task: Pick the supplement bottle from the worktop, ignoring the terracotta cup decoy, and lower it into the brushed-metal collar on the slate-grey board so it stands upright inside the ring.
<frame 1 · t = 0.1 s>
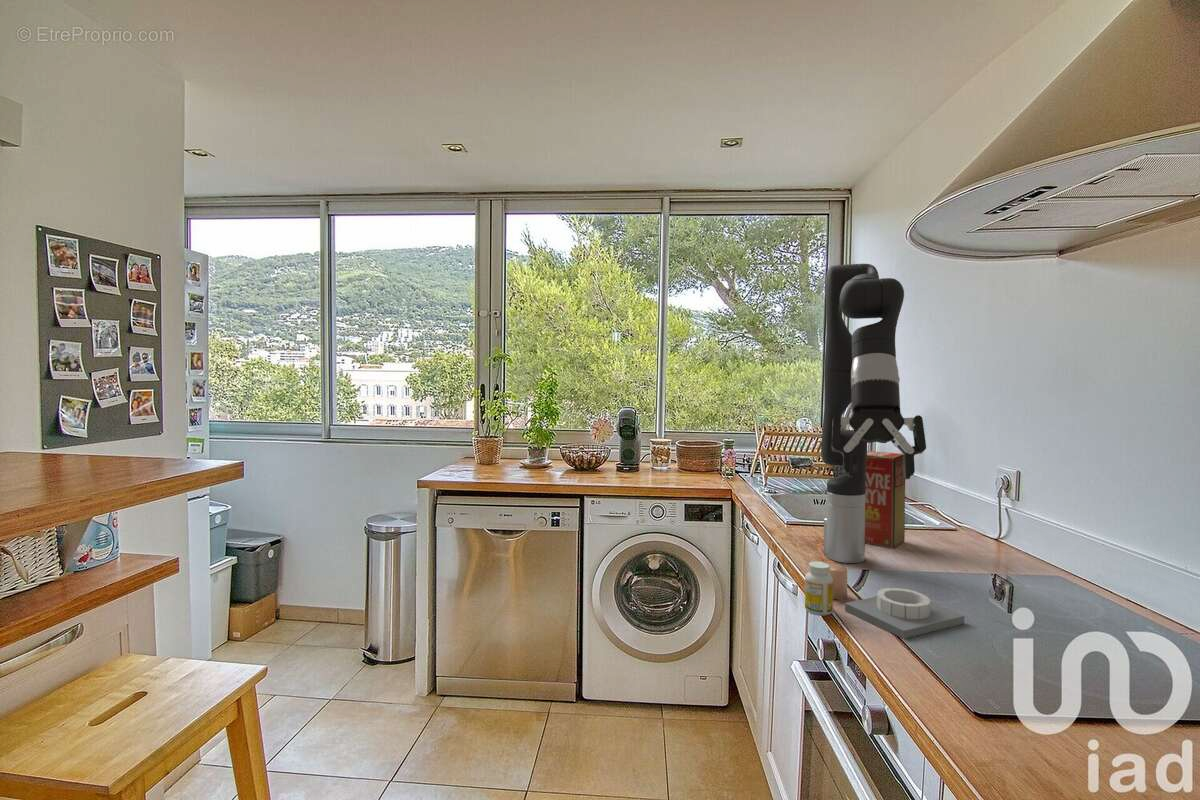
hand: (878, 477, 98), 31 cm above the worktop, tool tilted 20°, fingers open, 8 cm apart
food packaging: (875, 541, 168), on the worktop
supplement bottle: (818, 611, 121), on the worktop
collar board: (903, 616, 118), on the worktop
terracotta cup decoy: (834, 595, 129), on the worktop
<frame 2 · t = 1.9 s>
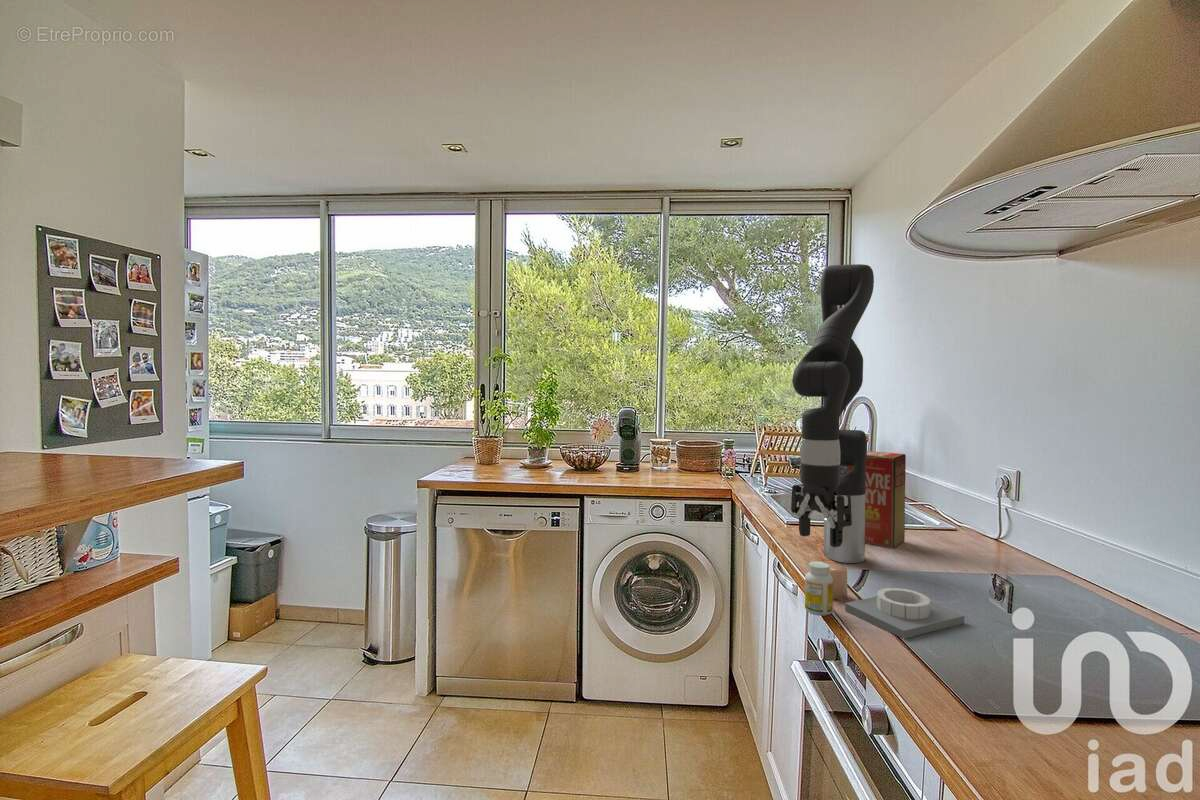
hand: (819, 540, 120), 14 cm above the worktop, tool pointing down, fingers open, 8 cm apart
nothing on the worktop moved.
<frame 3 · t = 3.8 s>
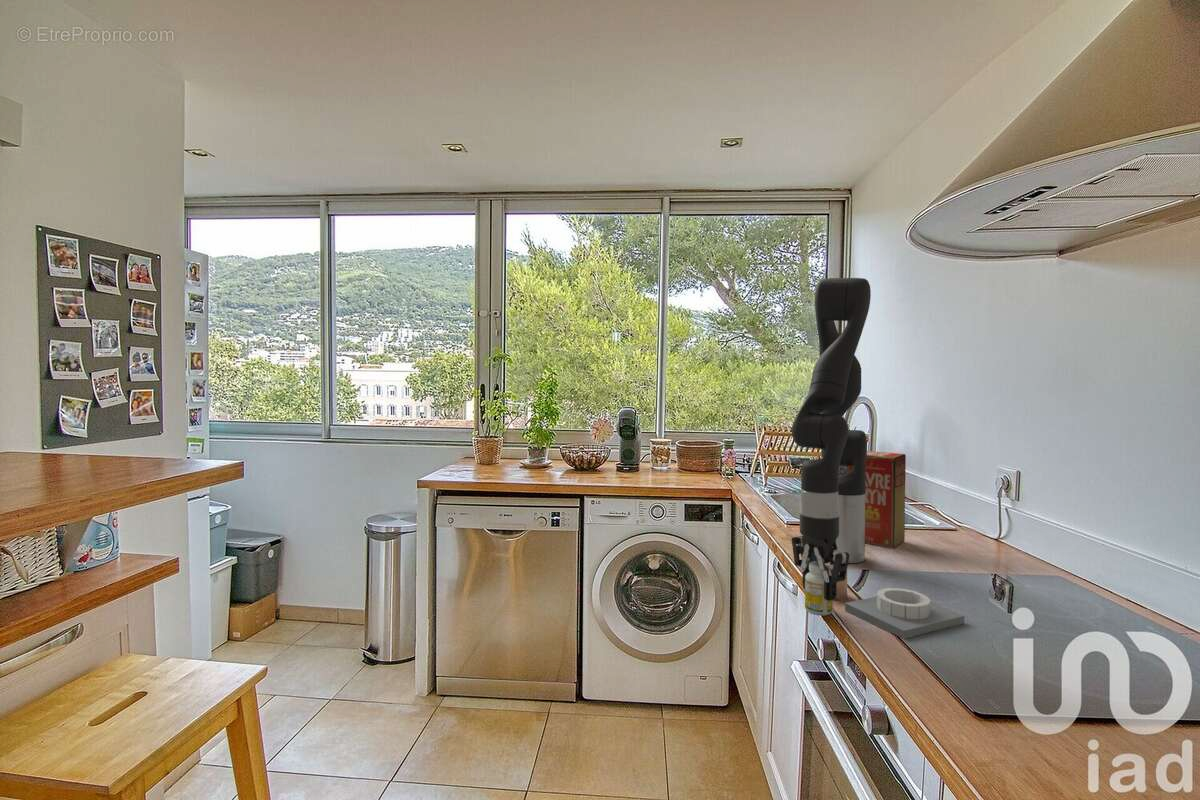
hand: (818, 593, 121), 3 cm above the worktop, tool pointing down, fingers closed on supplement bottle, 5 cm apart
supplement bottle: (818, 611, 121), on the worktop, touching gripper
everything else where it was.
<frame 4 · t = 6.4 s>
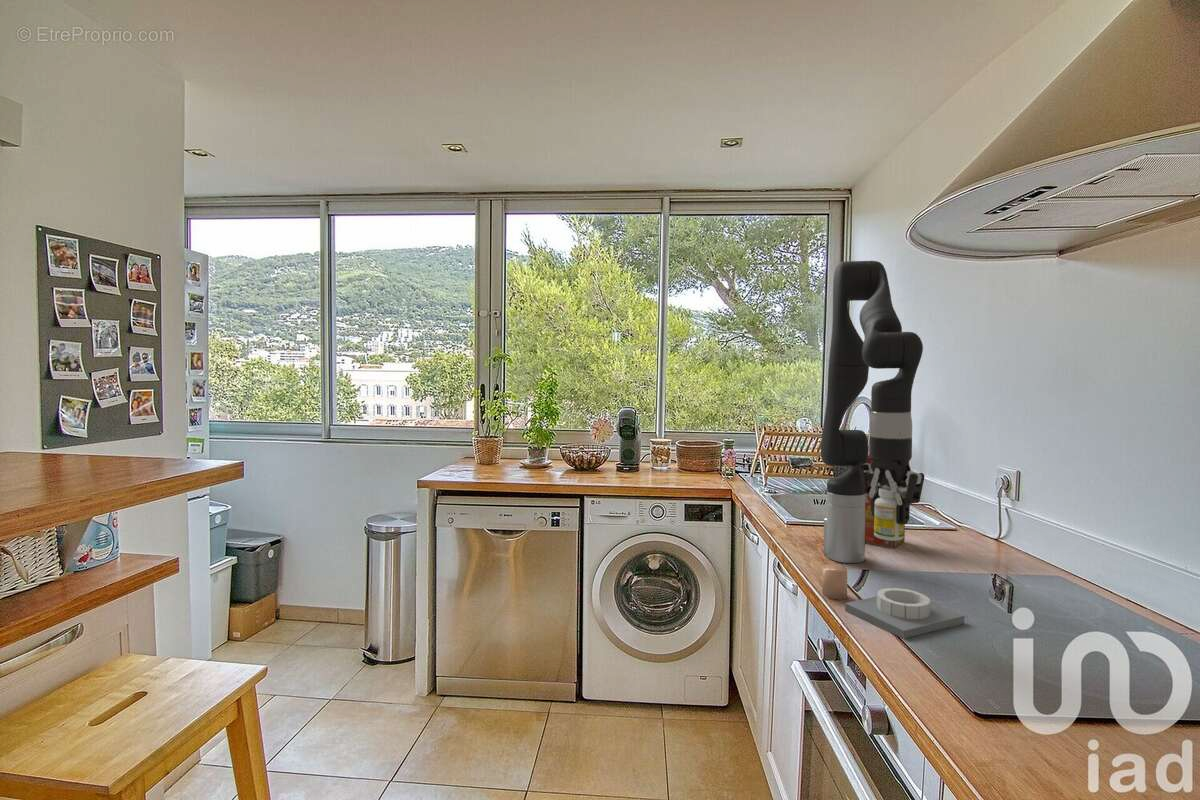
hand: (889, 519, 117), 19 cm above the worktop, tool pointing down, fingers closed on supplement bottle, 5 cm apart
supplement bottle: (888, 538, 117), point 16 cm above the worktop, touching gripper
everything else where it was.
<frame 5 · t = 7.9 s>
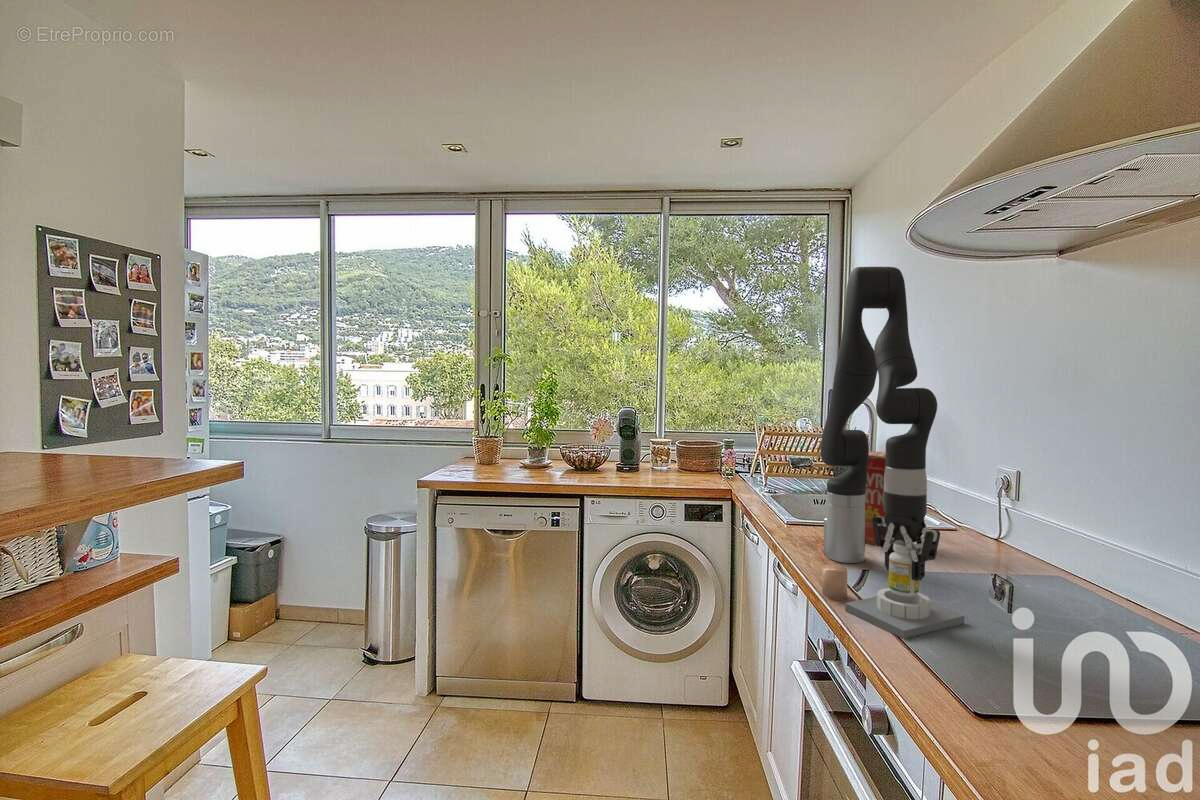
hand: (903, 574, 117), 8 cm above the worktop, tool pointing down, fingers closed on supplement bottle, 5 cm apart
supplement bottle: (903, 593, 117), point 5 cm above the worktop, touching gripper
everything else where it was.
when the fingers open (6 cm above the worktop, at t = 9.3 s): supplement bottle stays where it is, resting on collar board.
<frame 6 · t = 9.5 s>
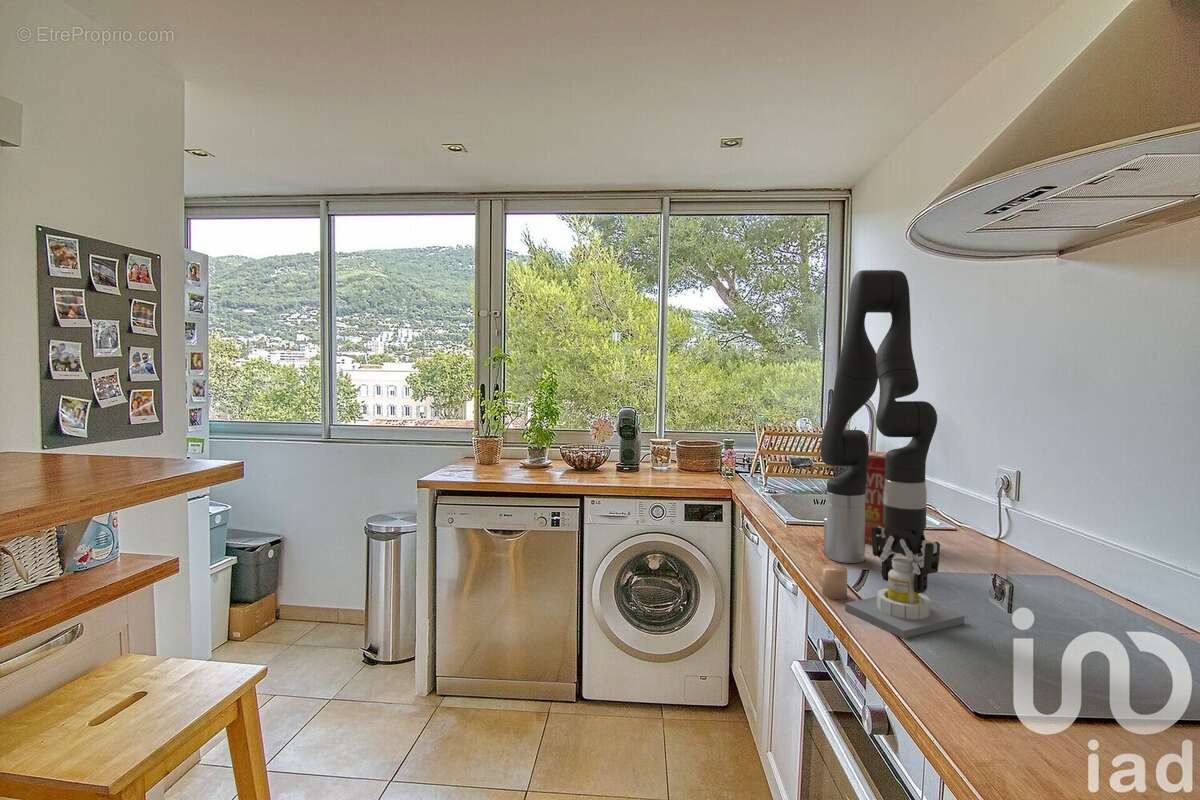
hand: (903, 585, 117), 6 cm above the worktop, tool pointing down, fingers open, 6 cm apart
supplement bottle: (903, 609, 118), point 1 cm above the worktop, touching collar board
everything else where it was.
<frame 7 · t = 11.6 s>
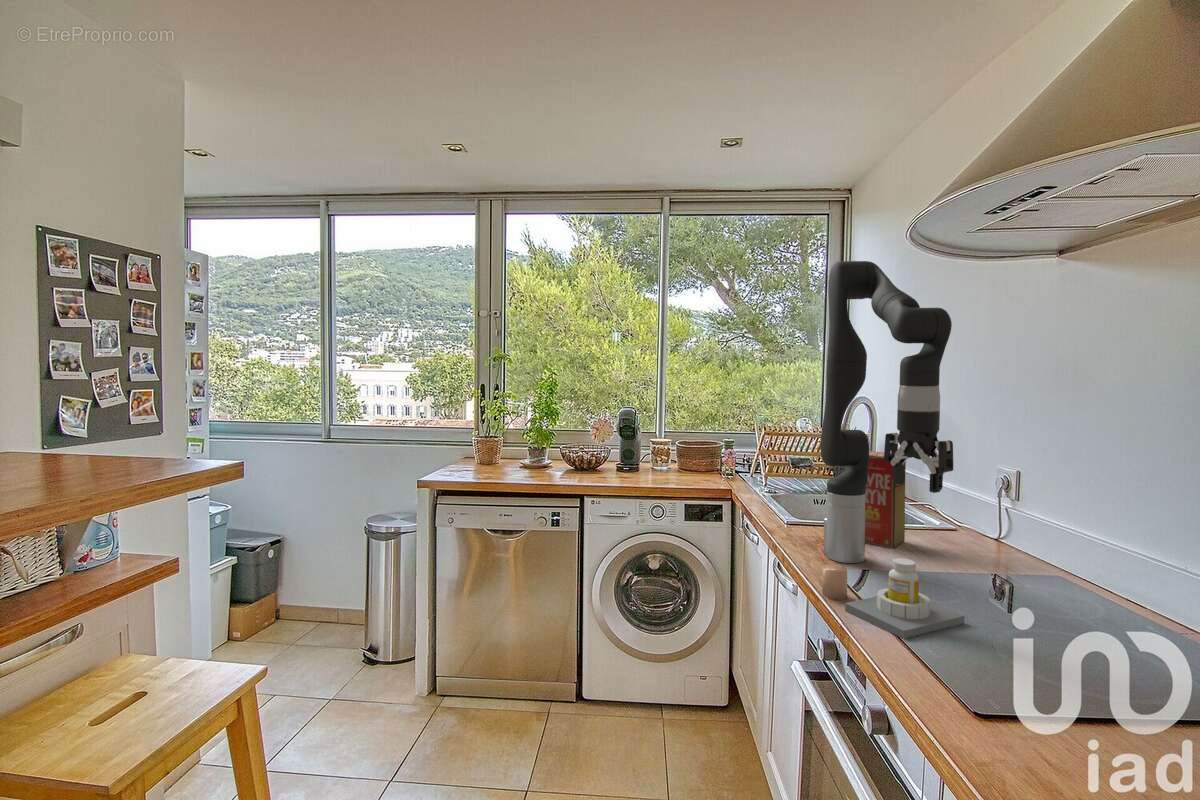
hand: (916, 487, 120), 25 cm above the worktop, tool pointing down, fingers open, 8 cm apart
nothing on the worktop moved.
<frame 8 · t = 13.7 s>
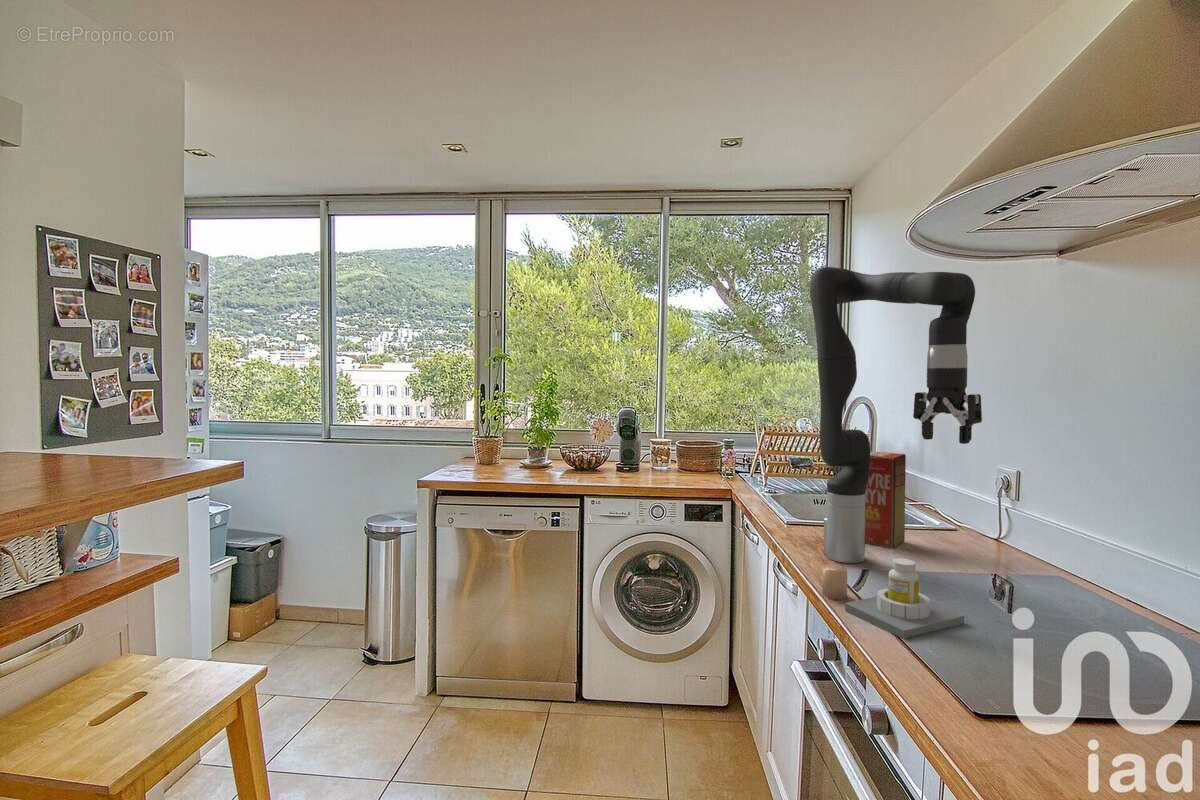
hand: (945, 441, 129), 33 cm above the worktop, tool pointing down, fingers open, 8 cm apart
nothing on the worktop moved.
at the end: supplement bottle 0.0 cm off-centre on the collar board, point 1.3 cm above the collar board's base; supplement bottle tilted 0°; the gripper is holding nothing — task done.
